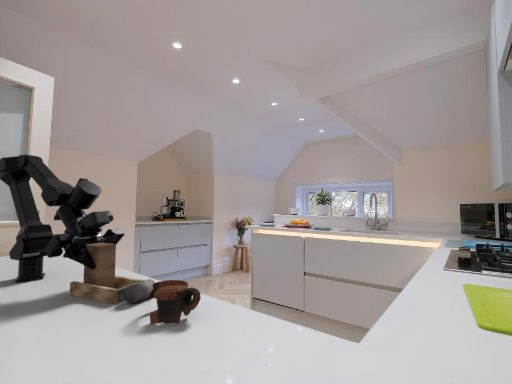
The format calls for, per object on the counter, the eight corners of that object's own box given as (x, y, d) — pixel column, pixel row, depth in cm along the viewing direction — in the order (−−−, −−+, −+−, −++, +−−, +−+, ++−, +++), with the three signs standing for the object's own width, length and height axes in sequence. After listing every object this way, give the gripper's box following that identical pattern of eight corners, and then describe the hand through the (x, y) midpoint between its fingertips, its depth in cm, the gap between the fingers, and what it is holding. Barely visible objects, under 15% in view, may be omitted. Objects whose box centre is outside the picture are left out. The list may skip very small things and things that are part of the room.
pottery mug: (133, 327, 52) (138, 283, 56) (163, 330, 60) (165, 291, 64) (190, 317, 49) (191, 271, 54) (213, 322, 57) (212, 282, 61)
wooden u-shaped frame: (69, 294, 68) (70, 278, 68) (102, 284, 76) (102, 270, 76) (131, 307, 60) (132, 288, 60) (160, 294, 68) (161, 278, 69)
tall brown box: (83, 293, 69) (84, 245, 70) (101, 287, 74) (102, 242, 74) (96, 296, 67) (98, 246, 68) (114, 290, 72) (116, 243, 72)
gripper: (54, 200, 64) (85, 251, 60) (121, 201, 81) (148, 240, 77) (32, 232, 67) (60, 283, 62) (101, 226, 84) (127, 266, 79)
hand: (103, 266), depth 70 cm, fingers closed on tall brown box, 5 cm apart
